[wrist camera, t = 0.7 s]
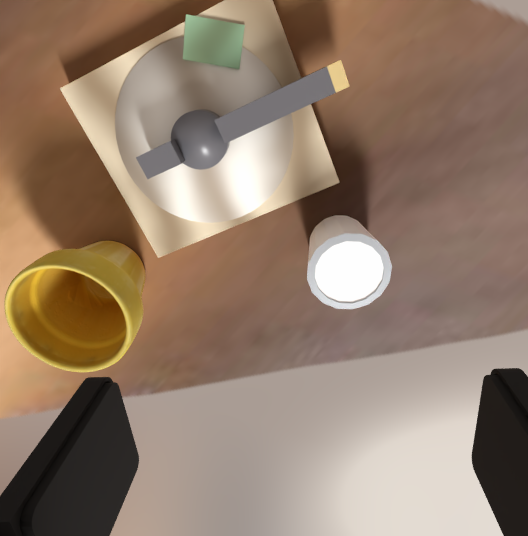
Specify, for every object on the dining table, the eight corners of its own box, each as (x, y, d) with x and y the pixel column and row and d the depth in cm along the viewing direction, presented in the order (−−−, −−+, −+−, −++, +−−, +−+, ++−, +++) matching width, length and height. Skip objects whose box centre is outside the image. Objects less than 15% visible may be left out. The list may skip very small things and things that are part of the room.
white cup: (332, 194, 38) (343, 216, 32) (389, 235, 39) (410, 264, 33) (288, 250, 40) (290, 282, 34) (343, 287, 42) (354, 324, 35)
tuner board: (163, 249, 41) (157, 258, 39) (69, 84, 35) (55, 84, 33) (336, 177, 37) (340, 183, 35) (264, -21, 31) (262, -28, 29)
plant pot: (81, 320, 45) (32, 380, 36) (46, 230, 40) (-20, 272, 32) (174, 309, 44) (147, 367, 35) (147, 215, 39) (109, 254, 30)
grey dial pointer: (166, 184, 36) (155, 194, 32) (140, 136, 34) (126, 141, 31) (348, 102, 32) (355, 104, 29) (328, 44, 31) (334, 40, 28)
